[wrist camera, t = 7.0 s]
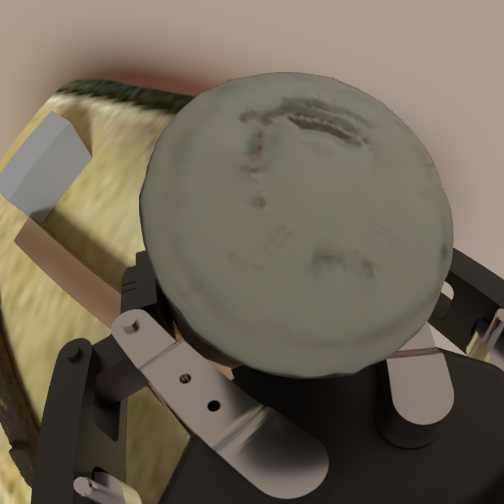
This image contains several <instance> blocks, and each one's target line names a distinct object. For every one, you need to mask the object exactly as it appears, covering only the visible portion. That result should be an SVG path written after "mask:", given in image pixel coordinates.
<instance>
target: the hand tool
mask: <svg viewBox="0 0 504 504" xmlns="http://www.w3.org/2000/svg"><path fill="white" fill-rule="evenodd" d="M0 423H1V425H2V428H3V429H4V431H5V434H6V435H7V437H8V440H9V444H10V445H11V446H12V449H10V451H9V454H10V455H11V457H12V460H13V461H14V463H15V464H16V466H17V467H18V469H19V471H20V474H21V476H22V477H23V478H24V480H25V482H26V483H27V484H28V485H29V486H30V487H31V488H32V484H33V474H34V466H35V458H36V451H37V445H38V439H39V432H38V431H37V429H36V427H35V425H34V423H33V420H32V417H31V415H30V413H29V410H28V408H27V405H26V402H25V399H24V397H23V395H22V393H21V391H20V389H19V387H18V384H17V381H16V379H15V376H14V373H13V370H12V365H11V362H10V360H9V356H8V353H7V350H6V348H5V346H4V341H3V338H2V335H1V332H0Z"/></svg>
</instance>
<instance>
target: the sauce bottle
mask: <svg viewBox="0 0 504 504" xmlns="http://www.w3.org/2000/svg"><path fill="white" fill-rule="evenodd" d="M451 213H452V212H451V208H450V204H449V201H448V199H447V197H446V194H445V192H444V189H443V187H442V184H441V180H440V177H439V173H438V171H437V169H436V166H435V164H434V162H433V159H432V157H431V156H430V154H429V152H428V151H427V149H426V148H425V146H424V145H423V143H422V142H421V141H420V139H419V138H418V137H417V136H416V135H415V133H414V132H413V131H412V130H411V129H410V128H409V127H408V126H407V125H406V124H405V123H404V122H403V121H402V120H401V119H400V118H399V117H398V116H397V115H396V114H395V113H394V112H393V111H392V110H390V109H389V108H388V107H387V106H386V105H385V104H383V103H382V102H380V101H379V100H377V99H375V98H374V97H372V96H370V95H368V94H367V93H365V92H363V91H361V90H360V89H358V88H355V87H353V86H351V85H348V84H345V83H343V82H341V81H339V80H337V79H335V78H330V77H326V76H320V75H313V74H306V73H297V72H276V73H266V74H261V75H255V76H250V77H244V78H238V79H232V80H228V81H226V82H224V83H222V84H221V85H219V86H217V87H215V88H213V89H211V90H208V91H205V92H203V93H201V94H199V95H198V96H196V97H195V98H194V99H193V100H192V101H191V102H189V103H188V104H187V105H186V106H185V107H184V108H182V109H181V110H180V111H179V112H178V113H177V114H176V115H175V117H174V118H173V119H172V121H171V122H170V123H169V125H168V126H167V127H166V129H165V130H164V131H163V133H162V134H161V136H160V137H159V139H158V140H157V142H156V145H155V148H154V151H153V154H152V156H151V159H150V161H149V164H148V166H147V171H146V177H145V180H144V183H143V186H142V189H141V192H140V196H139V215H140V222H141V229H142V236H143V242H144V246H145V249H146V251H147V254H148V257H149V260H150V264H151V267H152V270H153V274H154V276H155V278H156V280H157V282H158V284H159V286H160V288H161V290H162V292H163V294H164V296H165V300H166V303H167V306H168V309H169V312H170V314H171V316H172V318H173V320H174V322H175V324H176V326H177V328H178V330H179V331H180V333H181V335H182V337H183V339H184V341H185V342H186V343H188V344H189V345H190V346H191V347H192V348H193V349H194V350H195V351H196V352H198V353H199V354H200V355H201V356H202V357H203V358H205V359H208V360H210V361H213V362H215V363H218V364H220V365H222V366H226V367H229V368H236V367H239V366H242V365H246V366H248V367H251V368H253V369H256V370H259V371H262V372H265V373H269V374H273V375H278V376H283V377H289V378H297V379H322V378H333V377H342V376H350V375H354V374H356V373H357V372H359V371H361V370H362V369H364V368H365V367H367V366H370V365H373V364H375V363H378V362H381V361H383V360H385V359H386V358H388V357H389V356H391V355H392V354H393V353H395V352H396V351H398V350H399V349H400V348H402V347H403V346H404V345H405V344H406V343H407V342H408V341H409V340H410V339H412V338H413V337H414V336H415V335H416V334H417V333H418V332H419V331H420V330H421V329H422V327H423V326H424V325H425V323H426V322H427V320H428V319H429V318H430V316H431V314H432V312H433V310H434V308H435V306H436V304H437V301H438V298H439V295H440V292H441V289H442V286H443V284H444V281H445V279H446V277H447V274H448V271H449V269H450V266H451V263H452V255H453V221H452V214H451Z"/></svg>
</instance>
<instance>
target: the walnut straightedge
mask: <svg viewBox="0 0 504 504" xmlns="http://www.w3.org/2000/svg"><path fill="white" fill-rule="evenodd" d="M14 242H15V243H16V244H17V245H18V246H19V247H20V248H21V249H22V250H23V251H24V252H25V253H26V254H27V255H28V256H29V257H30V258H31V259H32V260H33V261H34V262H35V263H36V264H37V265H38V266H39V267H40V268H41V269H42V270H43V271H44V272H45V273H46V274H47V275H48V276H49V277H50V278H51V279H52V280H54V281H55V282H56V283H57V284H58V285H59V286H60V287H61V288H62V289H63V290H65V291H66V292H67V293H68V294H69V295H70V296H71V297H72V298H74V299H75V300H76V301H77V302H78V303H79V304H81V305H82V306H83V307H84V308H85V309H87V310H88V311H89V312H90V313H91V314H93V315H94V316H95V317H96V318H98V319H99V320H100V321H101V322H103V323H104V324H105V325H106V326H108V327H109V328H110V329H111V327H112V324H113V322H114V321H115V319H116V318H117V317H118V316H120V308H121V290H120V289H118V288H117V287H116V286H114V285H113V284H112V283H111V282H109V281H108V280H107V279H105V278H104V277H103V276H102V275H100V274H99V273H98V272H97V271H95V270H94V269H93V268H92V267H90V266H89V265H88V264H87V263H85V262H84V261H83V260H82V259H80V258H79V257H78V256H77V255H76V254H74V253H73V252H72V251H71V250H70V249H69V248H67V247H66V246H65V245H64V244H63V243H62V242H60V241H59V240H58V239H57V238H56V237H55V236H54V235H52V234H51V233H50V232H49V231H48V230H47V229H46V228H45V227H43V226H42V225H40V224H39V223H37V222H36V221H34V220H33V219H32V218H30V217H29V218H28V219H27V221H26V222H25V224H24V225H23V227H22V229H21V230H20V232H19V233H18V235H17V237H16V238H15V240H14ZM175 333H176V339H177V341H178V340H179V339H182V340H184V339H183V337H182V335H181V333H180V332H179V331H177V330H176V329H175ZM206 360H207V361H208V362H209V363H210V364H212V365H213V366H214V367H215V368H216V369H217V370H219V371H220V372H221V373H222V374H223V375H225V376H226V377H227V378H228V379H229V380H232V379H234V377H233V374H232V371H231V369H233V368H229V367H226V366H222V365H220V364H218V363H215V362H213V361H210V360H208V359H206Z"/></svg>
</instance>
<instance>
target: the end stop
mask: <svg viewBox="0 0 504 504" xmlns="http://www.w3.org/2000/svg"><path fill="white" fill-rule="evenodd" d="M91 159H92V156H91V155H90V153H89V152H88V150H87V148H86V147H85V145H84V143H83V142H82V140H81V139H80V137H79V135H78V134H77V132H76V130H75V128H74V127H73V125H72V123H71V122H70V121H68V120H67V119H65V118H63V117H62V116H60V115H58V114H56V113H55V112H53V111H51V112H50V113H49V114H48V115H47V116H46V117H45V118H44V120H43V121H42V122H41V123H40V124H39V125H38V126H37V127H36V129H35V130H34V131H33V132H32V133H31V134H30V136H29V137H28V138H27V139H26V140H25V142H24V143H23V144H22V145H21V147H20V148H19V149H18V150H17V152H16V153H15V154H14V156H13V157H12V158H11V159H10V161H9V162H8V164H7V165H6V166H5V168H4V169H3V170H2V172H1V173H0V193H1V194H2V195H3V196H4V197H5V198H6V199H7V200H8V201H9V202H10V203H12V204H13V205H14V206H16V207H17V208H19V209H20V210H21V211H23V212H24V213H26V214H27V215H28V216H30V217H31V218H33V219H34V220H35V221H37V222H38V223H40V224H41V225H42V224H43V222H44V221H45V219H46V218H47V216H48V215H49V214H50V212H51V211H52V209H53V208H54V206H55V205H56V204H57V202H58V201H59V199H60V198H61V197H62V195H63V194H64V193H65V191H66V190H67V189H68V187H69V186H70V185H71V183H72V182H73V181H74V180H75V178H76V177H77V176H78V175H79V173H80V172H81V171H82V170H83V168H84V167H85V166H86V165H87V163H88V162H89V161H90V160H91Z"/></svg>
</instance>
